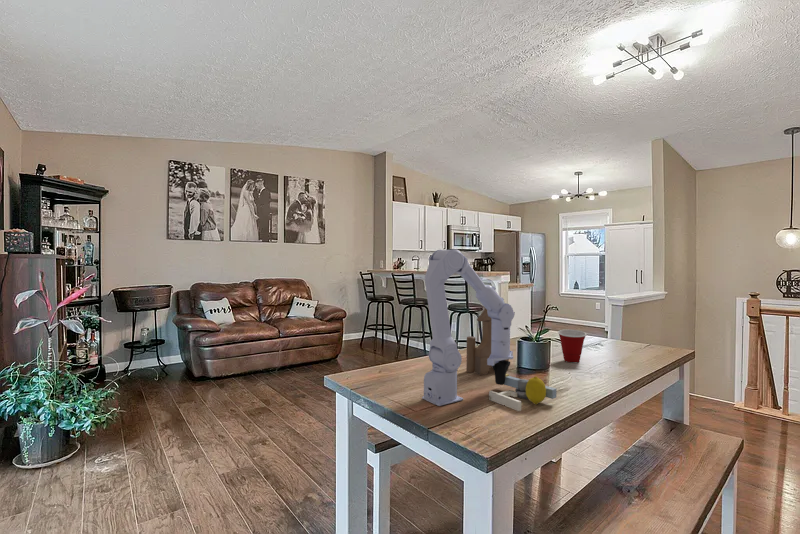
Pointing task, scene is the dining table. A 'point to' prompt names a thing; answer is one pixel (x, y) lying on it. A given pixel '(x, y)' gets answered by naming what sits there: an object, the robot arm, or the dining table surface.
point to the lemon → (535, 390)
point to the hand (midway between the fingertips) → (500, 384)
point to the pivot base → (521, 394)
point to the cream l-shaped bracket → (506, 399)
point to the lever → (521, 385)
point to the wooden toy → (480, 348)
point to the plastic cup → (572, 344)
